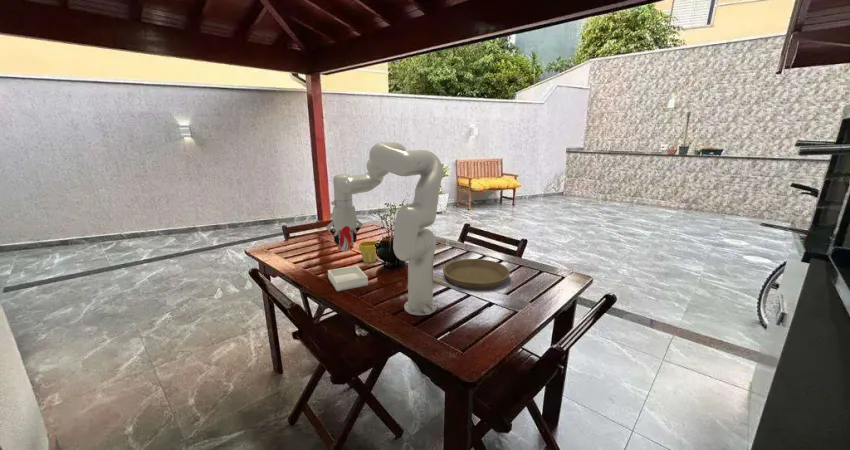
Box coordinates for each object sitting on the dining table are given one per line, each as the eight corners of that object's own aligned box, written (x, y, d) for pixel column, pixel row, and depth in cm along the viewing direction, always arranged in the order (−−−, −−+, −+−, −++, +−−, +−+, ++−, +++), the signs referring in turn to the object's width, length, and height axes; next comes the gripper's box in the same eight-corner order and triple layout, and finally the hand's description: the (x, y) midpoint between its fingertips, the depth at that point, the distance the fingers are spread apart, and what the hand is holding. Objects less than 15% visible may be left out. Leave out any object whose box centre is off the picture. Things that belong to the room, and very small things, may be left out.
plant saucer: (432, 284, 159) (432, 274, 158) (456, 262, 186) (456, 254, 185) (500, 297, 146) (500, 287, 145) (515, 272, 173) (515, 263, 172)
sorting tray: (368, 285, 157) (367, 276, 156) (336, 291, 151) (336, 282, 150) (357, 273, 171) (356, 265, 170) (328, 278, 164) (327, 270, 164)
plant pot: (358, 258, 191) (357, 241, 189) (377, 256, 194) (376, 239, 192) (361, 265, 182) (360, 247, 179) (380, 263, 185) (380, 245, 182)
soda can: (350, 252, 153) (348, 225, 150) (334, 251, 154) (333, 224, 151) (356, 247, 160) (355, 221, 157) (341, 246, 161) (340, 221, 158)
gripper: (325, 206, 145) (327, 247, 149) (365, 203, 153) (367, 242, 157) (321, 203, 151) (323, 243, 156) (360, 200, 159) (361, 238, 163)
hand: (345, 242), depth 156 cm, fingers closed on soda can, 7 cm apart
